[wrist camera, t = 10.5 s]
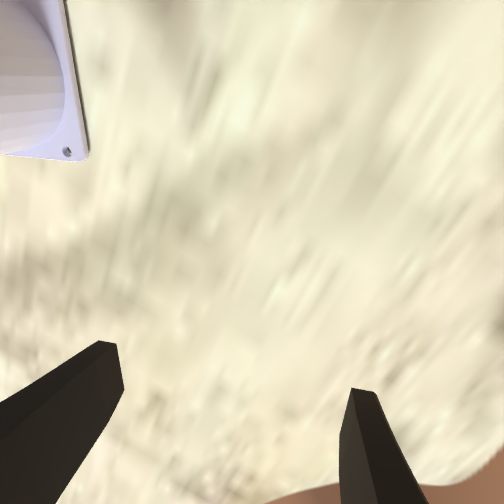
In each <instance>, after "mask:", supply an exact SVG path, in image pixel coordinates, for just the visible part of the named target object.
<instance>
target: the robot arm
mask: <svg viewBox="0 0 504 504" xmlns="http://www.w3.org/2000/svg"><path fill="white" fill-rule="evenodd" d="M67 148H69V149H70V150H71V152H72V155H70V154H69V153H68V150H67ZM0 155H9V156H19V157H29V158H39V159H50V160H60V161H70V162H83V161H85V160H86V159H87V158H88V156H89V152H88V146H87V140H86V134H85V128H84V122H83V116H82V110H81V104H80V99H79V93H78V87H77V81H76V75H75V69H74V63H73V57H72V51H71V45H70V39H69V33H68V27H67V22H66V16H65V10H64V4H63V0H0ZM123 392H124V384H123V379H122V373H121V367H120V362H119V356H118V350H117V345H116V344H115V343H110V342H105V341H97V342H95V343H94V344H92V345H90V346H89V347H87V348H86V349H84V350H83V351H81V352H79V353H78V354H76V355H75V356H73V357H72V358H70V359H69V360H67V361H66V362H64V363H63V364H61V365H60V366H58V367H57V368H55V369H53V370H52V371H50V372H49V373H47V374H46V375H44V376H43V377H41V378H39V379H38V380H36V381H35V382H33V383H32V384H30V385H28V386H27V387H25V388H24V389H22V390H20V391H19V392H17V393H15V394H13V395H12V396H10V397H8V398H7V399H5V400H3V401H2V402H0V504H56V502H57V501H58V499H59V497H60V496H61V494H62V493H63V491H64V490H65V488H66V486H67V485H68V483H69V482H70V480H71V479H72V477H73V476H74V474H75V473H76V471H77V470H78V468H79V467H80V465H81V464H82V462H83V461H84V459H85V458H86V456H87V454H88V453H89V451H90V450H91V448H92V447H93V445H94V444H95V442H96V441H97V439H98V438H99V436H100V434H101V433H102V431H103V430H104V428H105V427H106V425H107V423H108V422H109V420H110V418H111V416H112V414H113V412H114V410H115V408H116V406H117V404H118V402H119V400H120V398H121V396H122V394H123ZM339 482H340V494H341V504H429V503H428V501H427V500H426V498H425V496H424V494H423V492H422V490H421V488H420V487H419V485H418V483H417V481H416V479H415V477H414V475H413V473H412V471H411V469H410V467H409V465H408V463H407V461H406V459H405V457H404V456H403V453H402V451H401V449H400V447H399V445H398V443H397V441H396V439H395V437H394V435H393V432H392V430H391V428H390V426H389V424H388V421H387V419H386V417H385V414H384V412H383V409H382V407H381V405H380V402H379V400H378V397H377V395H376V394H375V393H374V392H372V391H366V390H361V389H356V388H351V392H350V395H349V399H348V403H347V407H346V411H345V415H344V419H343V423H342V427H341V431H340V437H339Z"/></svg>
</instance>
